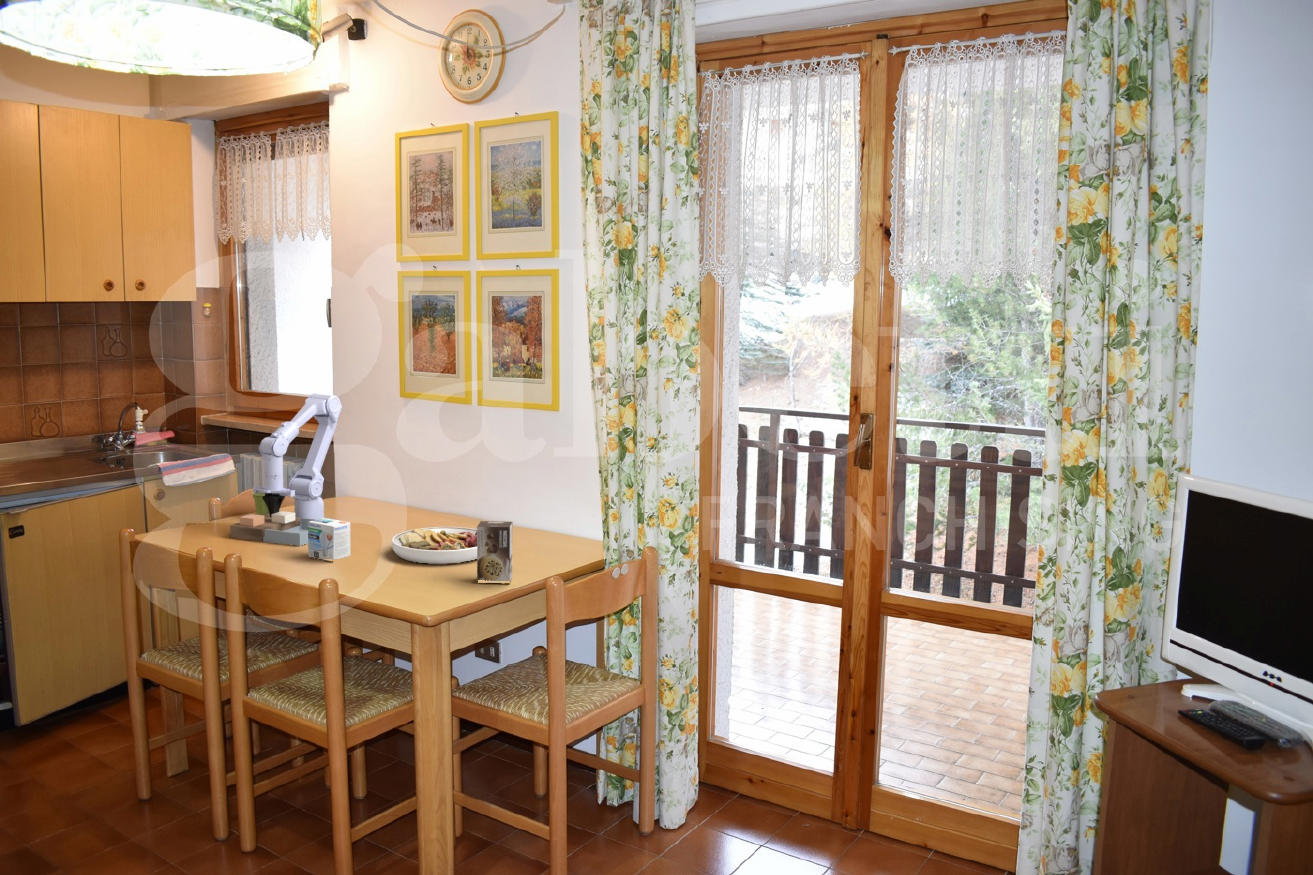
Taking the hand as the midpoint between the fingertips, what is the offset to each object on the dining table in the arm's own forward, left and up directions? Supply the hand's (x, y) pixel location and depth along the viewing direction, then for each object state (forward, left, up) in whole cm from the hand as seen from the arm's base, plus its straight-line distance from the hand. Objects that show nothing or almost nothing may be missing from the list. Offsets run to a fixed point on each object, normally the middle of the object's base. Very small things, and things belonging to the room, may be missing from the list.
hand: (274, 516), depth 302 cm
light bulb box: (+19, +34, -5) cm, 39 cm away
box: (+3, +12, -5) cm, 13 cm away
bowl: (+1, +61, -6) cm, 61 cm away
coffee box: (+21, +88, -5) cm, 90 cm away
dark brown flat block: (+3, -1, -5) cm, 6 cm away
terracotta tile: (+8, -2, -1) cm, 8 cm away
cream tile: (0, +4, -1) cm, 4 cm away
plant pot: (-16, -16, -5) cm, 24 cm away
